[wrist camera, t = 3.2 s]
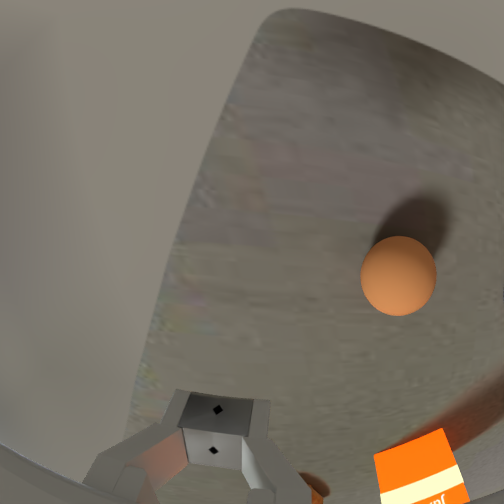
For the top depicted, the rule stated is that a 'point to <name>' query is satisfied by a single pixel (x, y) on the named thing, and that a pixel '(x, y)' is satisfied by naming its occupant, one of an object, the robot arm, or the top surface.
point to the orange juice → (420, 473)
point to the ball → (398, 275)
